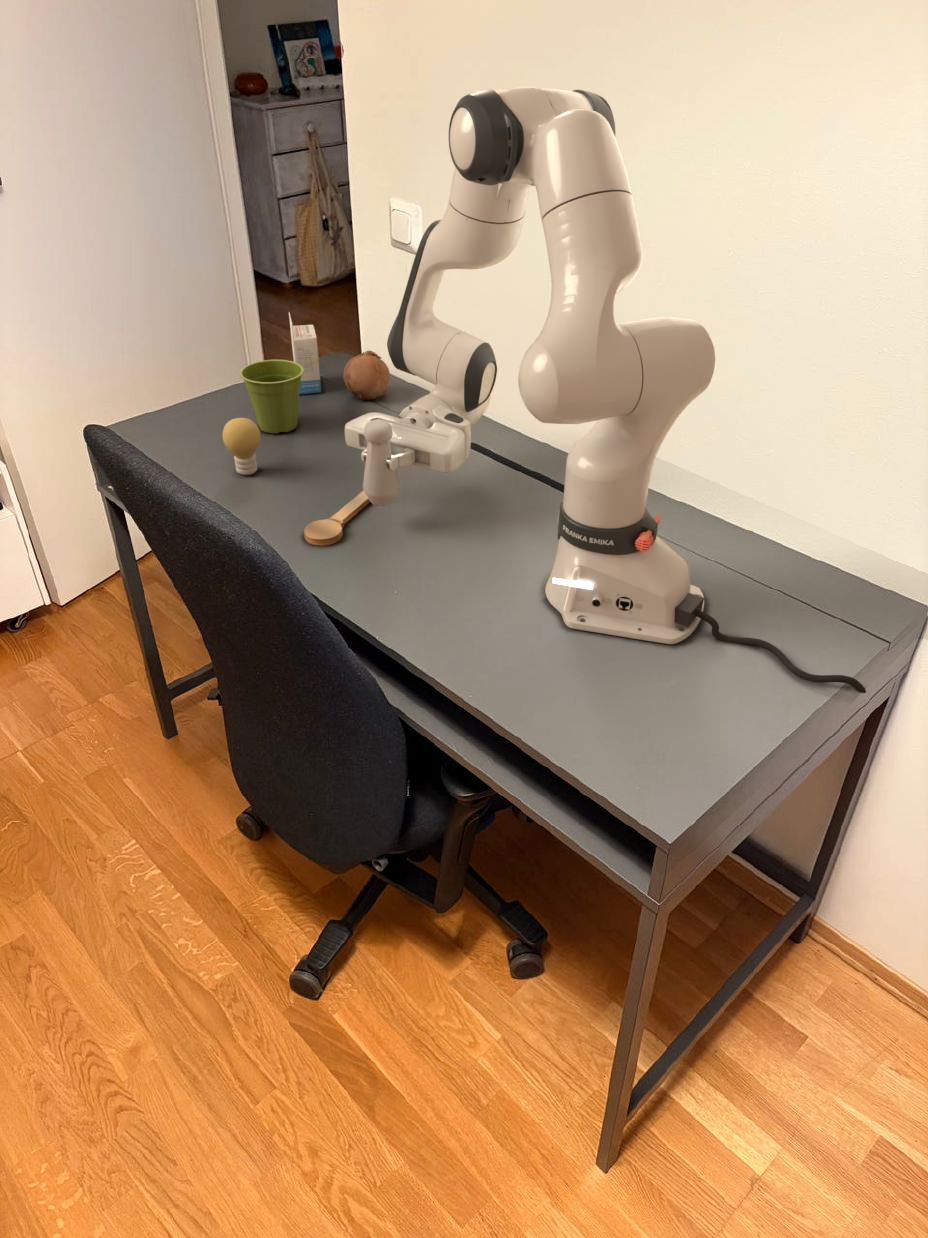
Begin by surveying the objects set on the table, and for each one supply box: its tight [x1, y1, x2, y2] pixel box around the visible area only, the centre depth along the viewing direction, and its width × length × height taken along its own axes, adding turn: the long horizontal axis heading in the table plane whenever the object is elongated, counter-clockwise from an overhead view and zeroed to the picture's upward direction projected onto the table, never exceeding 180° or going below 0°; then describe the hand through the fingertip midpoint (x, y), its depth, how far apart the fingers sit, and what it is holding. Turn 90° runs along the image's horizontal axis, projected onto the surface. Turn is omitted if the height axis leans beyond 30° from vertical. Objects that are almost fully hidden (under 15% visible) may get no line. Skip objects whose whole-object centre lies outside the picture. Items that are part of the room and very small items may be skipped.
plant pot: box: [239, 359, 304, 434], centre depth 174 cm, size 12×12×11 cm
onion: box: [342, 350, 391, 401], centre depth 186 cm, size 10×9×10 cm
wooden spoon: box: [303, 489, 371, 547], centre depth 150 cm, size 22×6×1 cm, turn 154°
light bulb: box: [222, 417, 262, 476], centre depth 159 cm, size 6×6×10 cm
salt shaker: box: [362, 420, 401, 507], centre depth 141 cm, size 6×6×13 cm
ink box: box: [288, 311, 322, 395], centre depth 188 cm, size 8×5×15 cm, turn 13°
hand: (376, 462), depth 140 cm, fingers closed on salt shaker, 3 cm apart
